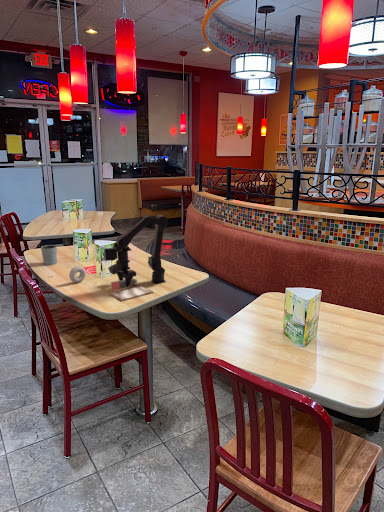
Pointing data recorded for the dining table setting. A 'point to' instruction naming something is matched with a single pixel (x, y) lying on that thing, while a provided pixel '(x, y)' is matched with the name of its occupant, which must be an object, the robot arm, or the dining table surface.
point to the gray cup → (49, 254)
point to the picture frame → (131, 293)
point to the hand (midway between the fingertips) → (124, 284)
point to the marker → (122, 284)
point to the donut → (81, 276)
